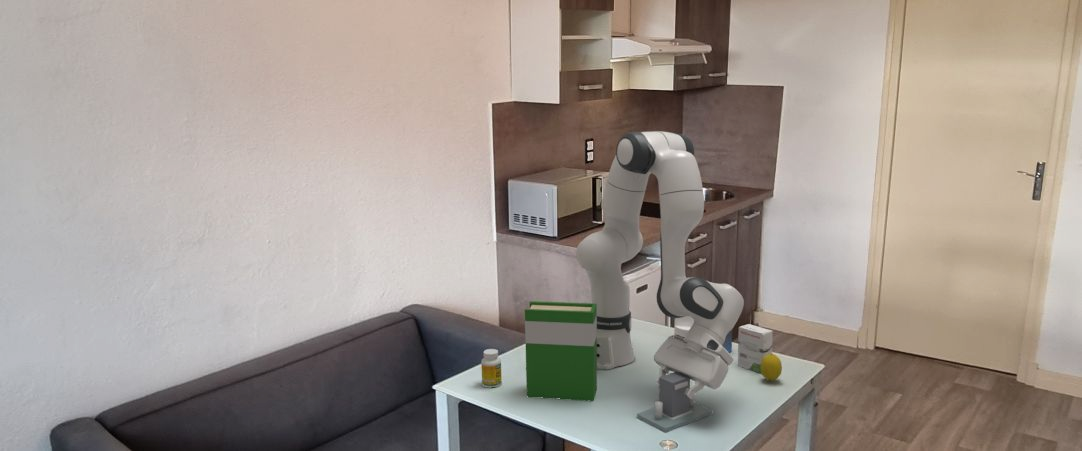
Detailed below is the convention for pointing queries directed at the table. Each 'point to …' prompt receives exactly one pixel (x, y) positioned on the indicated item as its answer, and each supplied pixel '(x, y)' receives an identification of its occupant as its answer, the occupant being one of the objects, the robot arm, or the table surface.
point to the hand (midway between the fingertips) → (673, 390)
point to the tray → (668, 423)
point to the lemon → (771, 367)
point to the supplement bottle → (491, 368)
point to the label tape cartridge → (728, 342)
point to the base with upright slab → (683, 325)
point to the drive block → (674, 394)
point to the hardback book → (561, 350)
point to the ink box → (753, 346)
